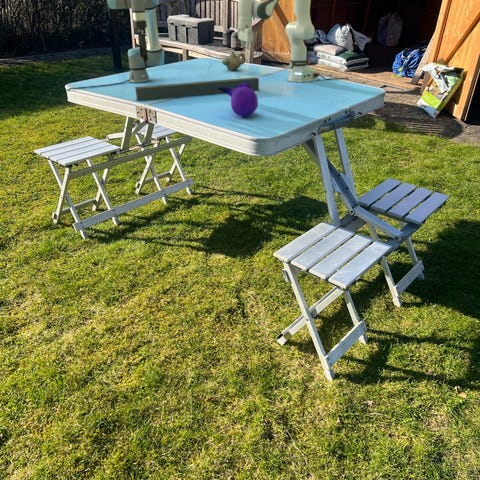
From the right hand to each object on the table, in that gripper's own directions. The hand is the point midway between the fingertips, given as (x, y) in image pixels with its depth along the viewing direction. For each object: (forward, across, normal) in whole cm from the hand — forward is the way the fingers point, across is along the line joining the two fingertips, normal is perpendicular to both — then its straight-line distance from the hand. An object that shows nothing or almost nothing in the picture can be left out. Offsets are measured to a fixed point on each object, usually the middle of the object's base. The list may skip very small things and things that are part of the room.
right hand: (245, 48), depth 291 cm
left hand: (+2, 0, +66) cm, 66 cm away
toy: (+27, -56, +22) cm, 65 cm away
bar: (+27, 0, +32) cm, 42 cm away
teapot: (+27, +76, -14) cm, 82 cm away
